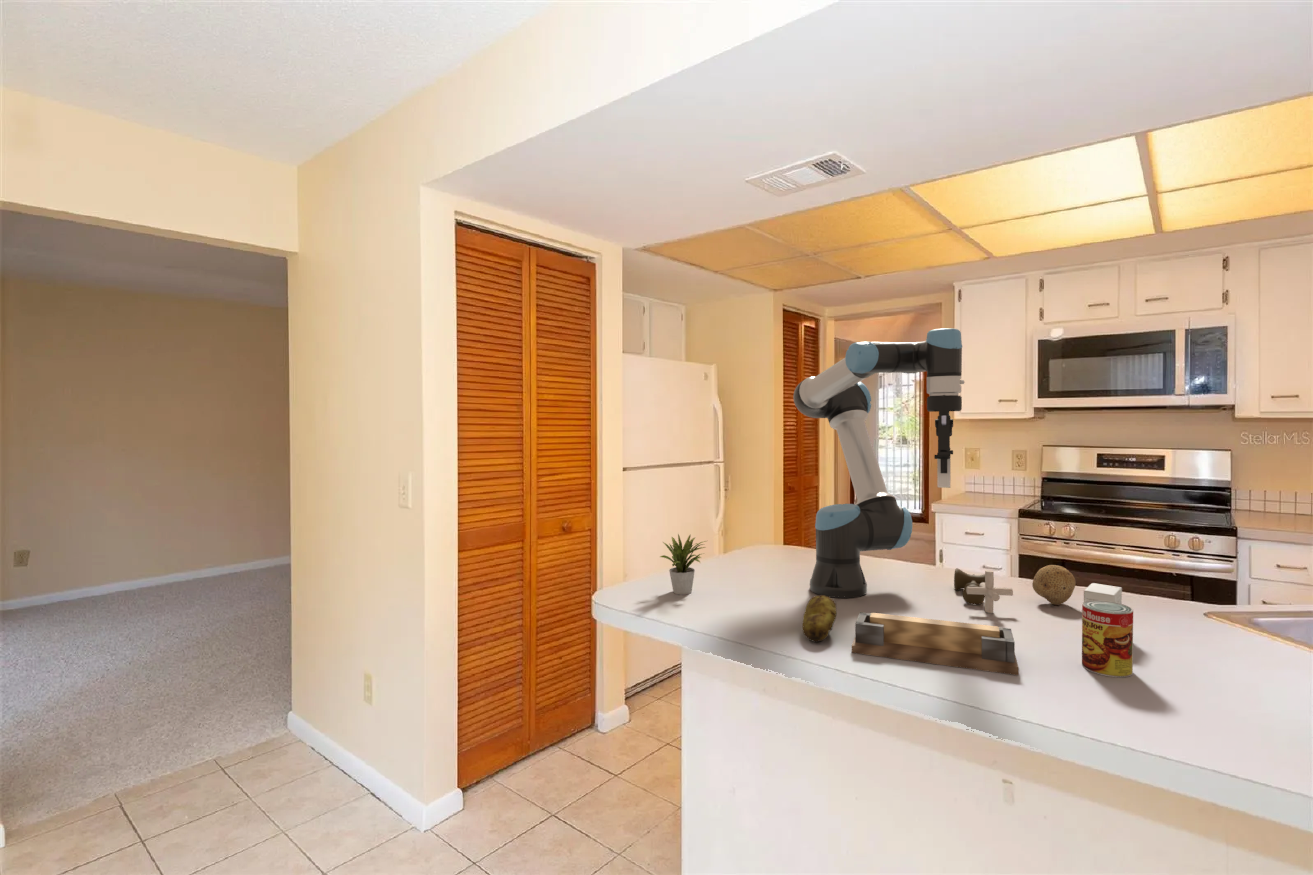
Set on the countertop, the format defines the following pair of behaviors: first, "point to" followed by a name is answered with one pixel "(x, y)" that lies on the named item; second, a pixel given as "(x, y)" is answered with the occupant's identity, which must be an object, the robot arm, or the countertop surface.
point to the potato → (819, 617)
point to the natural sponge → (1054, 584)
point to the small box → (1103, 593)
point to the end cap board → (994, 650)
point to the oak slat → (934, 633)
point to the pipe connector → (989, 591)
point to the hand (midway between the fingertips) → (944, 484)
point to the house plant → (682, 565)
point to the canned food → (1107, 638)
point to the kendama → (969, 585)
